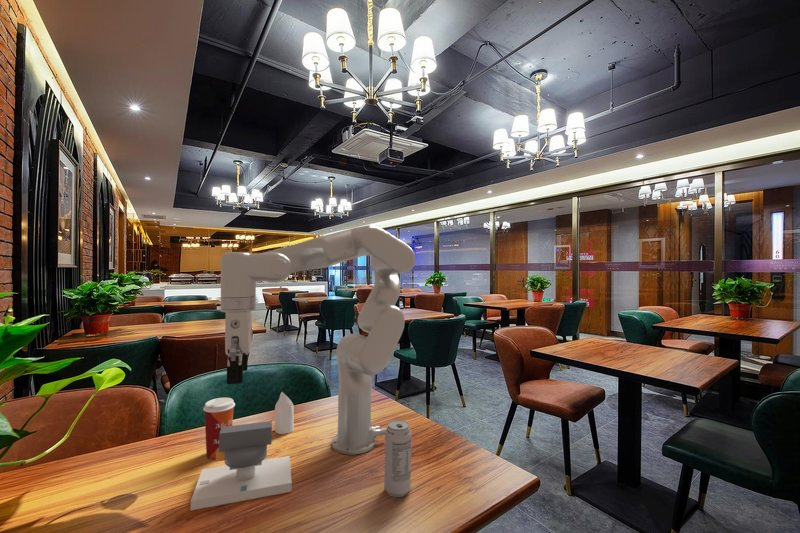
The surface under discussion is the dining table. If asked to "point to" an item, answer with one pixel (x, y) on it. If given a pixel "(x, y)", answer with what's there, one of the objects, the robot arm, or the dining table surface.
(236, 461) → the lock knob
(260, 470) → the base
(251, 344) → the robot arm
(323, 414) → the dining table surface
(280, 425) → the white pointed block
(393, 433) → the energy drink can
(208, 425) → the paper cup
